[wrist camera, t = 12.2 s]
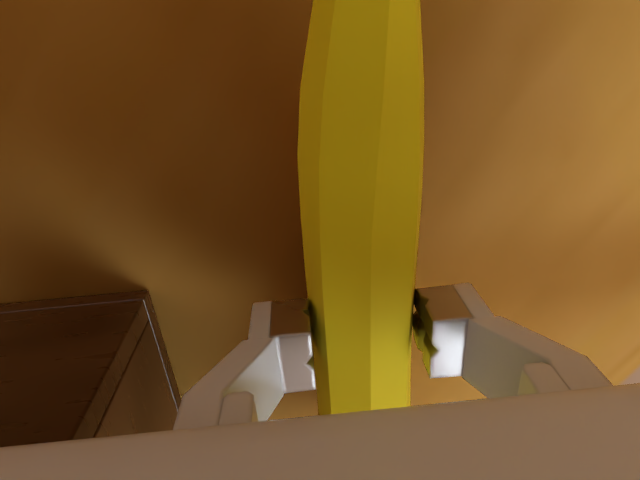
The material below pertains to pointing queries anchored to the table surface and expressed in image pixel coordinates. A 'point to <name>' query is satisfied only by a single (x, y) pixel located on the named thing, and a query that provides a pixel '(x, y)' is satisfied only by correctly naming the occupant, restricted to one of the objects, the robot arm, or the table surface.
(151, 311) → the tray
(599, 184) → the table surface
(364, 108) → the banana
